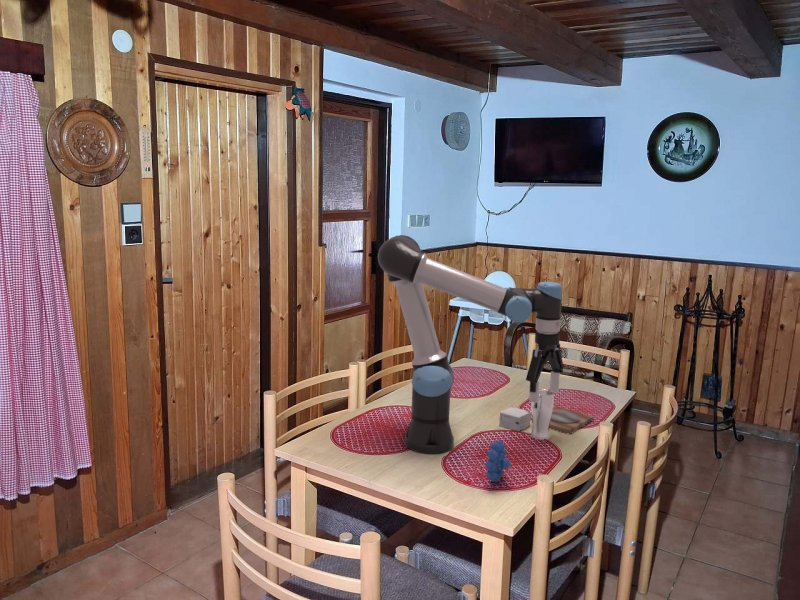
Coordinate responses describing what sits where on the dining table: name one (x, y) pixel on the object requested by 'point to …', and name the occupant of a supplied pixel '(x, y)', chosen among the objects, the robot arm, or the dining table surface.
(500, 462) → the grapes
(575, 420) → the walnut board
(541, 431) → the beer glass
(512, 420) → the small box
